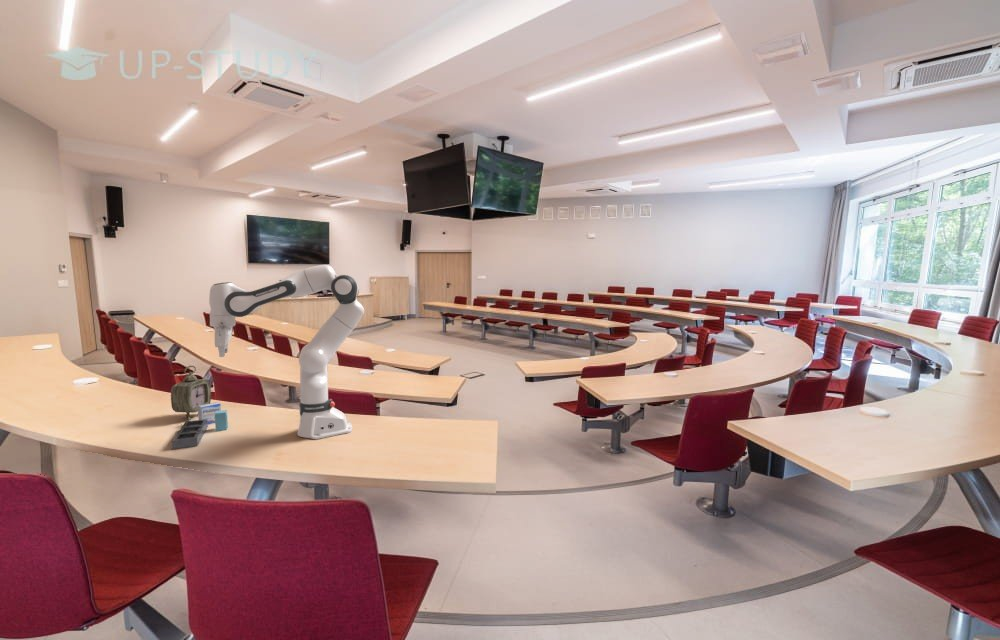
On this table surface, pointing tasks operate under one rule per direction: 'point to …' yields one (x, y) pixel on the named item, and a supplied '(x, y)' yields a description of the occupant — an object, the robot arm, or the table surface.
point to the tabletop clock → (190, 394)
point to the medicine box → (208, 411)
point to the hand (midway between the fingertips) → (223, 354)
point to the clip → (221, 420)
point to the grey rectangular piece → (190, 434)
